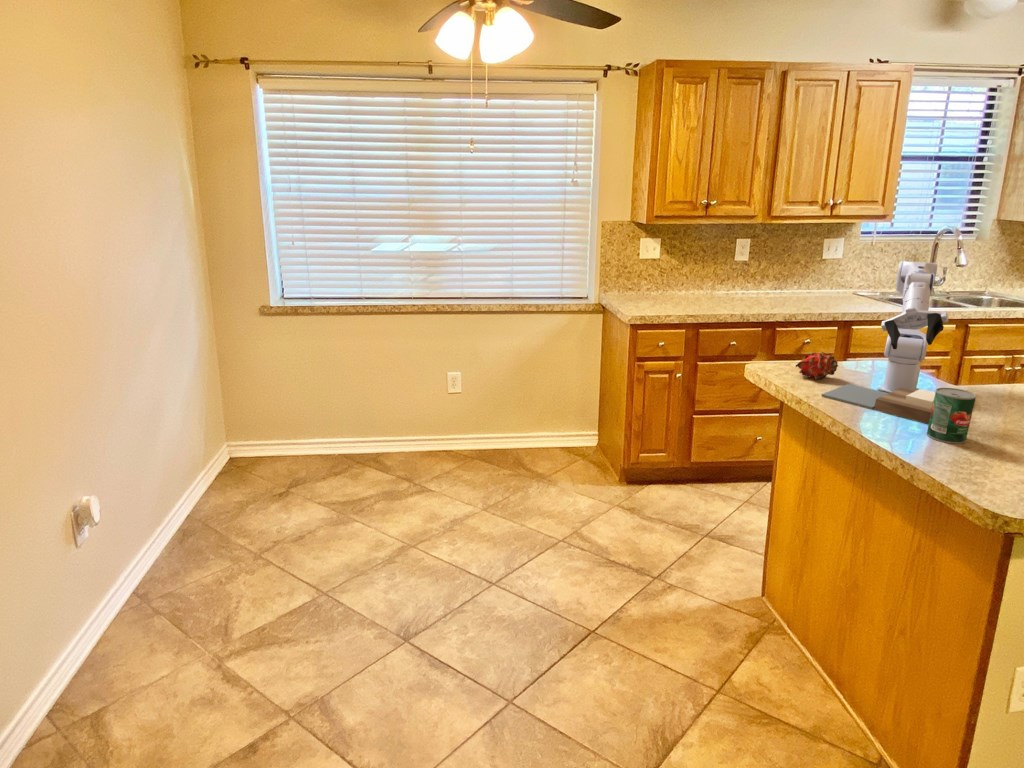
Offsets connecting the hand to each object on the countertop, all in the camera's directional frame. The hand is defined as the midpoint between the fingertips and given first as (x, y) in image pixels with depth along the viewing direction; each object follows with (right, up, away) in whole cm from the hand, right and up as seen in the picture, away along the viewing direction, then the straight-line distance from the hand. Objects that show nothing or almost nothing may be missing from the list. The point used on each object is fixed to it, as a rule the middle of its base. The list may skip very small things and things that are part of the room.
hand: (911, 344), depth 166 cm
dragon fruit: (-7, -8, +36) cm, 38 cm away
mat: (-3, -13, +19) cm, 23 cm away
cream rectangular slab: (+7, -14, +5) cm, 16 cm away
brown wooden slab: (+6, -17, +9) cm, 20 cm away
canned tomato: (+3, -22, -9) cm, 24 cm away
